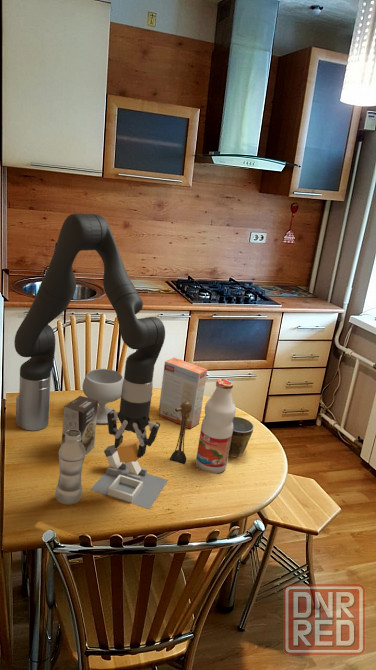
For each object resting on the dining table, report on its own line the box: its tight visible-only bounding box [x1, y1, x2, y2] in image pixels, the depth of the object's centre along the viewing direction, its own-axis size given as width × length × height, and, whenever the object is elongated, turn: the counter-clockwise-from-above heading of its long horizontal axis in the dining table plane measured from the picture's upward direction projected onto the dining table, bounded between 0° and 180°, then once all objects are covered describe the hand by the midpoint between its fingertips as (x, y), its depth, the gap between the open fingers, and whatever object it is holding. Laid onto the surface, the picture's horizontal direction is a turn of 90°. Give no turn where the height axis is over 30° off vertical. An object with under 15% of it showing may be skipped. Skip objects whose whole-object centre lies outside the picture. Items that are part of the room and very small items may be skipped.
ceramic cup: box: [228, 416, 255, 458], centre depth 166 cm, size 13×10×10 cm
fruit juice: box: [195, 378, 237, 474], centre depth 153 cm, size 9×9×28 cm
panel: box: [90, 462, 169, 510], centre depth 141 cm, size 17×14×3 cm
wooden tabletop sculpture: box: [170, 401, 192, 465], centre depth 154 cm, size 6×5×20 cm
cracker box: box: [157, 357, 208, 430], centre depth 178 cm, size 14×6×21 cm, turn 58°
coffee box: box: [61, 395, 99, 456], centre depth 152 cm, size 9×6×16 cm
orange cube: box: [117, 438, 140, 462], centre depth 134 cm, size 4×4×4 cm
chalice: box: [81, 368, 124, 425], centre depth 174 cm, size 14×14×15 cm
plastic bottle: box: [55, 429, 86, 506], centre depth 130 cm, size 6×7×20 cm
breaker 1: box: [103, 444, 122, 469], centre depth 145 cm, size 2×3×6 cm
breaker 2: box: [125, 460, 142, 475], centre depth 144 cm, size 2×3×6 cm
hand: (129, 452), depth 134 cm, fingers closed on orange cube, 5 cm apart
